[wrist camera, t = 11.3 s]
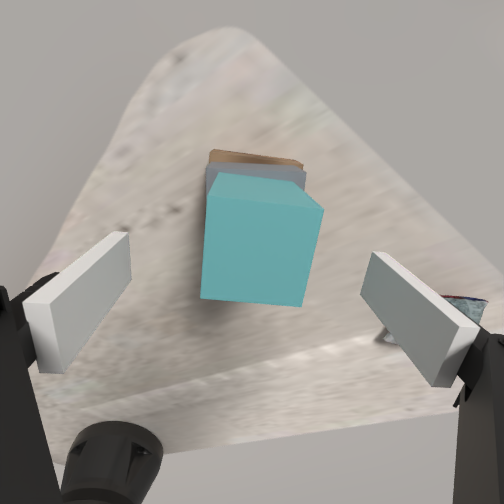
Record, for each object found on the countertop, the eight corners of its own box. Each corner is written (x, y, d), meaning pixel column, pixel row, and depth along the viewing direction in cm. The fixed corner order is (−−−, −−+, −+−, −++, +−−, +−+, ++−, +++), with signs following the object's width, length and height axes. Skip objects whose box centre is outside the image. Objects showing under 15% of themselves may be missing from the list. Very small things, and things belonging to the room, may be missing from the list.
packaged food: (449, 340, 43) (474, 364, 38) (376, 331, 42) (393, 355, 37) (476, 291, 40) (506, 311, 35) (397, 280, 39) (419, 299, 34)
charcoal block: (211, 240, 30) (207, 260, 25) (211, 161, 27) (205, 167, 22) (286, 242, 30) (295, 262, 26) (294, 165, 27) (306, 172, 23)
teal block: (212, 242, 25) (200, 298, 16) (218, 172, 22) (207, 195, 14) (280, 249, 25) (301, 307, 17) (292, 181, 23) (324, 209, 15)
